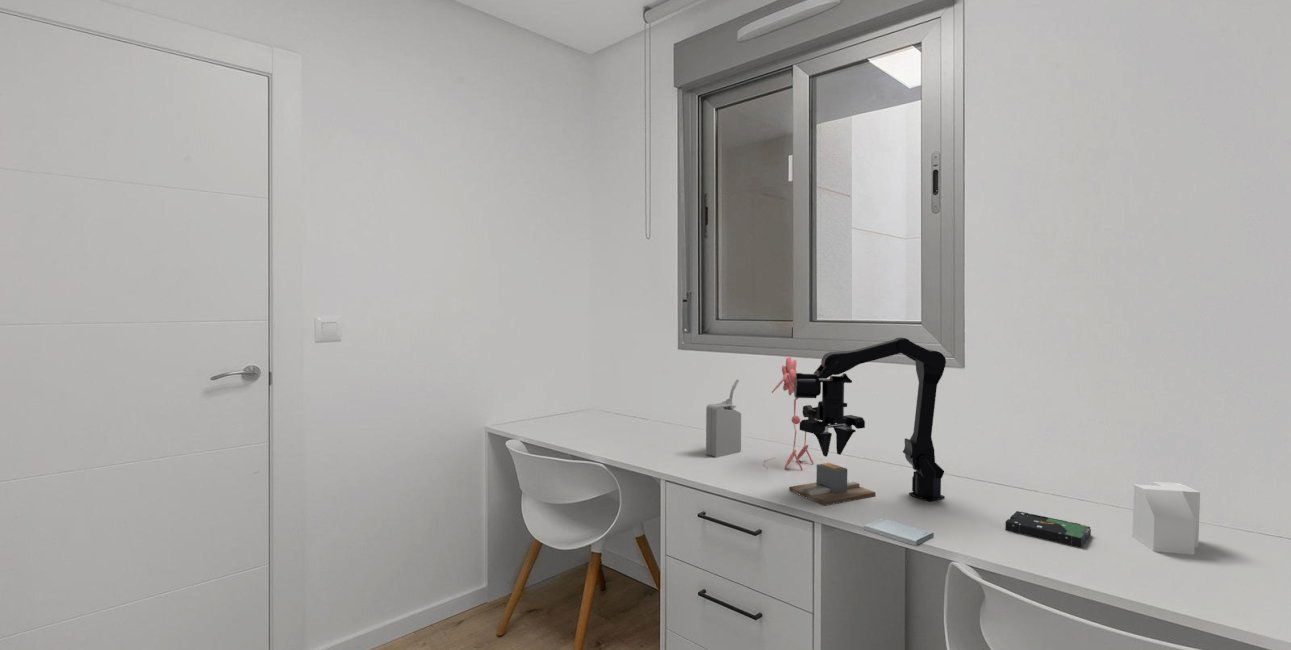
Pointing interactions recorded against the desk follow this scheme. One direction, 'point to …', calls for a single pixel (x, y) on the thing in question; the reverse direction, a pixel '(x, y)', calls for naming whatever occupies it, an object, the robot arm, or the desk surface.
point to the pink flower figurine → (789, 382)
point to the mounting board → (826, 497)
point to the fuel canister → (723, 428)
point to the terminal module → (832, 477)
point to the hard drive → (898, 531)
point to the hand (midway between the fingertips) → (832, 455)
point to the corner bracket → (1166, 517)
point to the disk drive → (1048, 529)
